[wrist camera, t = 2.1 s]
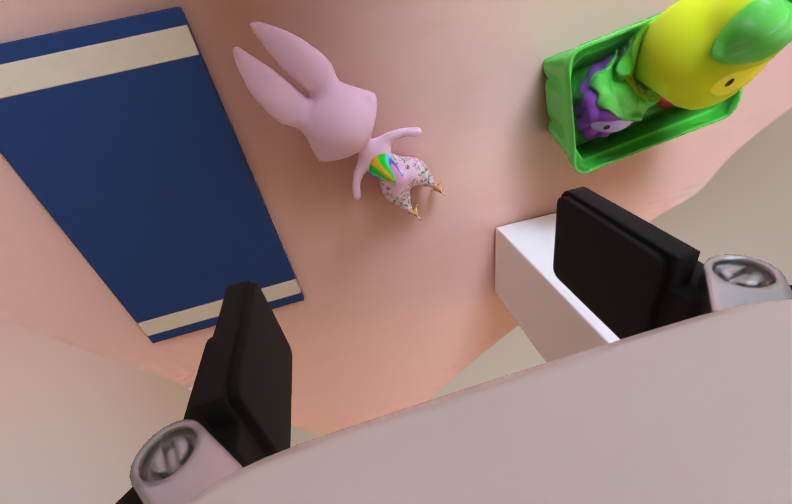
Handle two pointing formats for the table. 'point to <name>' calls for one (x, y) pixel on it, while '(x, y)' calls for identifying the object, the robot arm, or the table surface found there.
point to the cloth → (141, 168)
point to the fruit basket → (660, 77)
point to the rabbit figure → (331, 114)
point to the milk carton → (542, 292)
